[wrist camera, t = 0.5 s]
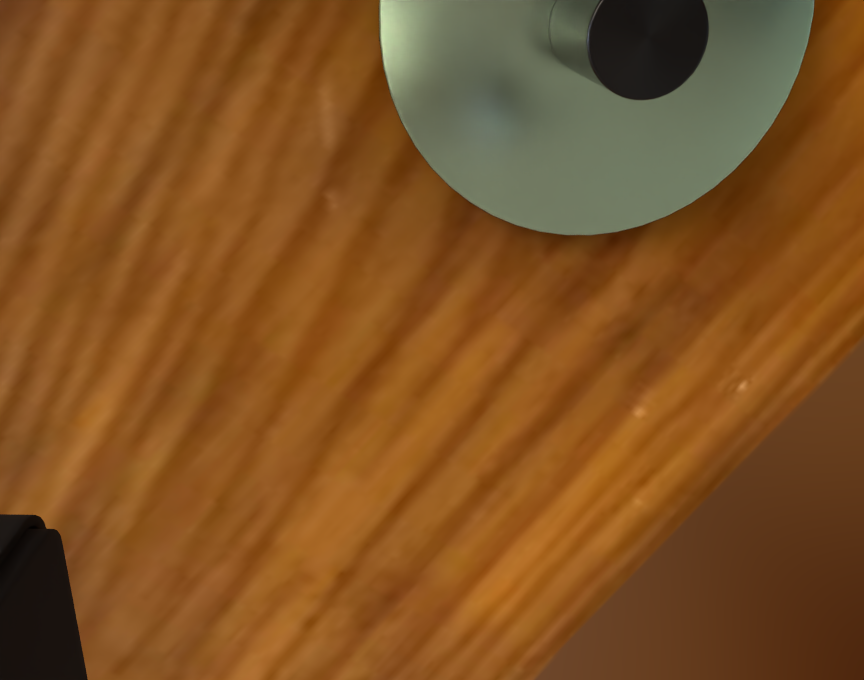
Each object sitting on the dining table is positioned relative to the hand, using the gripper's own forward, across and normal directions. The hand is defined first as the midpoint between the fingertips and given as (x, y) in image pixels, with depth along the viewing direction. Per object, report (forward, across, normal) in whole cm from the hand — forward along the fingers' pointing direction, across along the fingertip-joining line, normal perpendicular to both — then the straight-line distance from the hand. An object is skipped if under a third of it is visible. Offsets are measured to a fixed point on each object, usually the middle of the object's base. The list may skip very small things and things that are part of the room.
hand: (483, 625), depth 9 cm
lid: (+20, -5, -6) cm, 22 cm away
